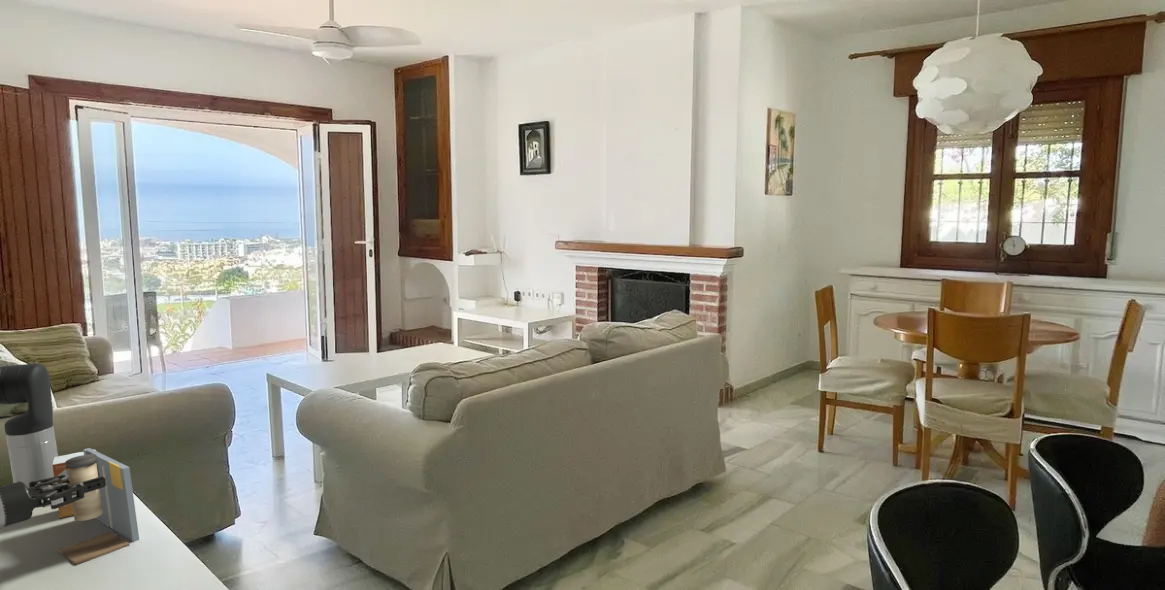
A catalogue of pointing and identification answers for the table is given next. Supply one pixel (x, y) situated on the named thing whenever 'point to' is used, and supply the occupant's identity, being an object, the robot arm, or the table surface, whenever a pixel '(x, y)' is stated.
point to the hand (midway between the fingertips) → (99, 478)
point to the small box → (61, 469)
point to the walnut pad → (93, 547)
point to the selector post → (91, 503)
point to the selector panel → (116, 496)
